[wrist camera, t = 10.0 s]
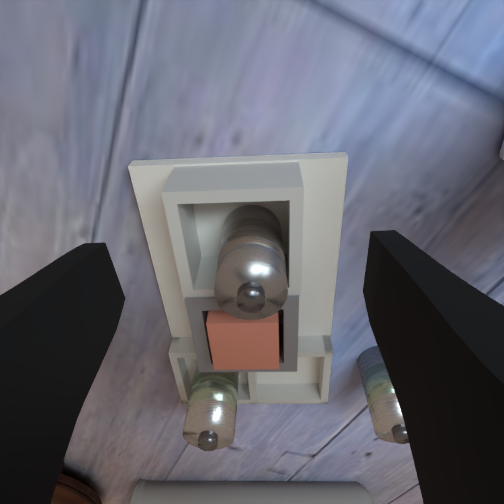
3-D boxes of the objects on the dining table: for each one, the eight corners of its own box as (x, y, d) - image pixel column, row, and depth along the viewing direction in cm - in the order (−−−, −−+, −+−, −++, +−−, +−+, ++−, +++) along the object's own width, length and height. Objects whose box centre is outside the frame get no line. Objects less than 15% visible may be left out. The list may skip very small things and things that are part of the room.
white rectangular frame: (345, 151, 19) (362, 184, 15) (324, 378, 29) (331, 427, 26) (132, 160, 19) (105, 193, 16) (186, 379, 30) (176, 427, 26)
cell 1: (243, 354, 26) (238, 435, 22) (235, 381, 28) (228, 462, 23) (199, 346, 26) (183, 427, 21) (193, 374, 28) (177, 455, 23)
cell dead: (247, 192, 19) (245, 257, 14) (293, 227, 20) (305, 298, 15) (211, 233, 21) (197, 306, 16) (255, 264, 22) (255, 340, 17)
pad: (276, 285, 22) (278, 322, 19) (277, 330, 24) (279, 369, 21) (212, 286, 22) (206, 323, 19) (219, 331, 24) (214, 369, 21)
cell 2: (405, 345, 27) (436, 424, 22) (397, 373, 28) (425, 452, 23) (359, 345, 27) (381, 424, 22) (355, 373, 29) (373, 451, 24)
